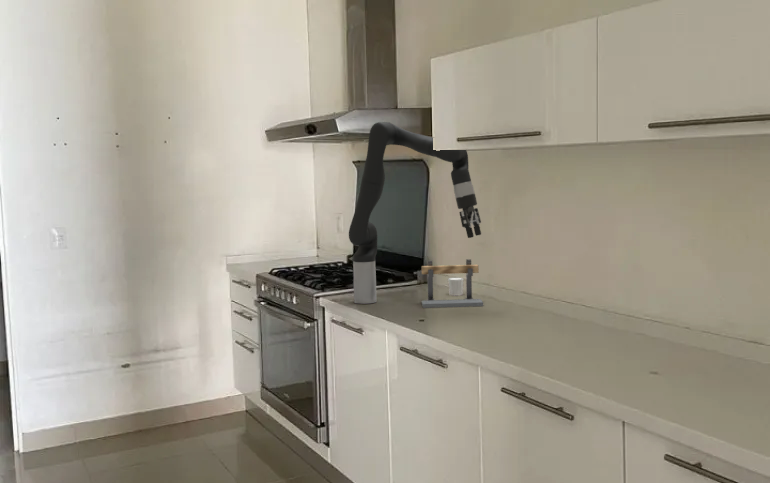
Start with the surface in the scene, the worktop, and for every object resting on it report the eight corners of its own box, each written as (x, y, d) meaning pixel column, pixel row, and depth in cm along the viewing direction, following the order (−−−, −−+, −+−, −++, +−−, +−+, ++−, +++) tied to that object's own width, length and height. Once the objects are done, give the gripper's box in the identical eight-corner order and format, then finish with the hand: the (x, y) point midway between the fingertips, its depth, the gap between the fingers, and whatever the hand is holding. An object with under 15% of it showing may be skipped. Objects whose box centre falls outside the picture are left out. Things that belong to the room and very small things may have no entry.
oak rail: (422, 274, 309) (421, 267, 309) (421, 273, 312) (421, 266, 312) (478, 272, 309) (478, 265, 309) (477, 271, 312) (477, 264, 312)
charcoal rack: (427, 303, 309) (426, 262, 308) (426, 301, 315) (426, 260, 314) (474, 302, 309) (473, 261, 308) (472, 299, 316) (472, 259, 314)
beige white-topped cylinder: (466, 295, 327) (465, 279, 326) (450, 296, 325) (450, 280, 324) (461, 292, 333) (460, 277, 333) (446, 293, 332) (445, 277, 331)
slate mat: (422, 307, 301) (422, 304, 301) (421, 304, 309) (421, 300, 309) (483, 306, 301) (483, 302, 301) (480, 302, 309) (480, 298, 309)
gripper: (462, 196, 298) (472, 236, 298) (449, 198, 285) (459, 240, 286) (480, 191, 295) (489, 232, 295) (467, 193, 282) (477, 236, 282)
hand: (474, 236), depth 290 cm, fingers open, 8 cm apart
